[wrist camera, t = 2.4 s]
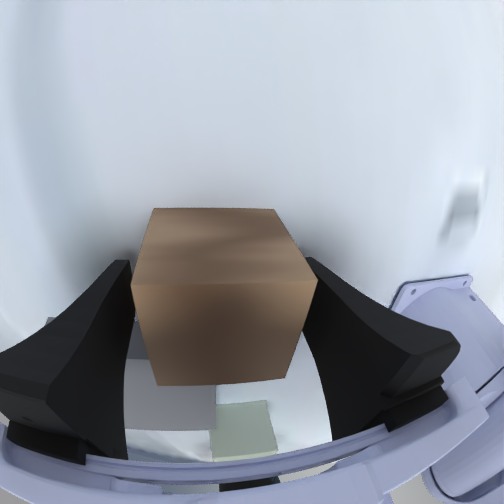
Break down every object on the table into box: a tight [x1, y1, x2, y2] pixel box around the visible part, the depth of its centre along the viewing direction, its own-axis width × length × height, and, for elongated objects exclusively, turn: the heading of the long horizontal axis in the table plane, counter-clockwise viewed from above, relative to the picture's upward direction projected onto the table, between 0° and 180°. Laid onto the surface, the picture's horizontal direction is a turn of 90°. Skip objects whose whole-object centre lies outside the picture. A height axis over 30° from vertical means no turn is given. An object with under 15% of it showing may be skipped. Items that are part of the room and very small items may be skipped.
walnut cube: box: [131, 208, 318, 386], centre depth 10 cm, size 5×5×5 cm
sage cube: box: [209, 400, 278, 462], centre depth 20 cm, size 5×5×5 cm
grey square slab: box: [45, 317, 216, 431], centre depth 15 cm, size 10×10×3 cm
